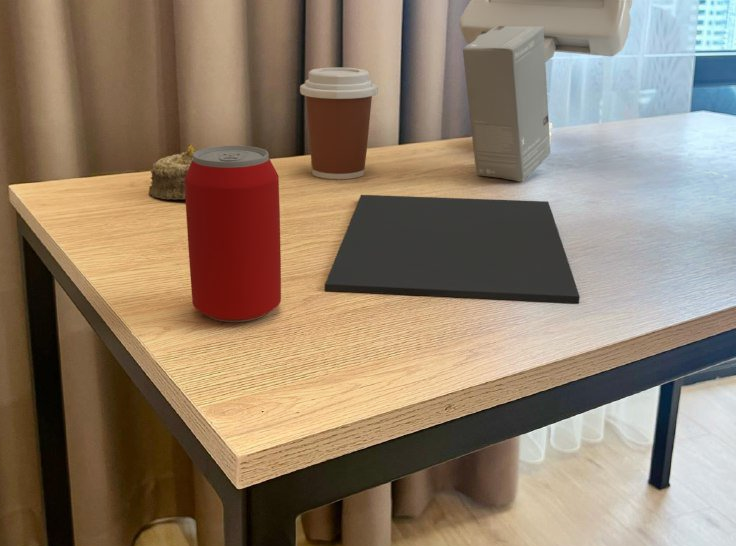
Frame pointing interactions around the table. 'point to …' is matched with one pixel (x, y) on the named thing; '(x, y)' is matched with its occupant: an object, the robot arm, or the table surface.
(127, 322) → the table surface
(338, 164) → the coffee cup
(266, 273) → the beverage can
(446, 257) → the mat
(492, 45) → the cosmetic box
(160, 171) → the cake
